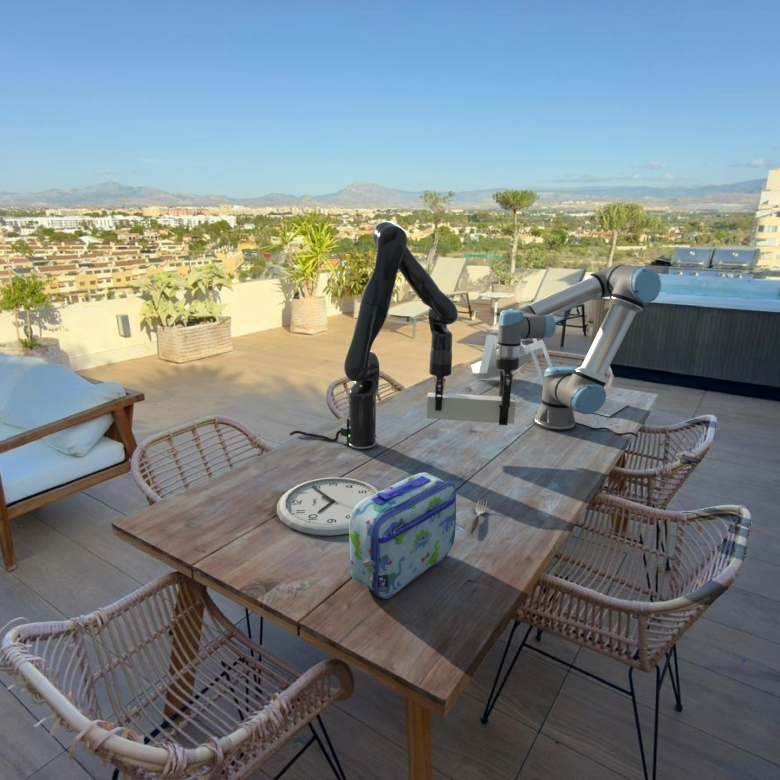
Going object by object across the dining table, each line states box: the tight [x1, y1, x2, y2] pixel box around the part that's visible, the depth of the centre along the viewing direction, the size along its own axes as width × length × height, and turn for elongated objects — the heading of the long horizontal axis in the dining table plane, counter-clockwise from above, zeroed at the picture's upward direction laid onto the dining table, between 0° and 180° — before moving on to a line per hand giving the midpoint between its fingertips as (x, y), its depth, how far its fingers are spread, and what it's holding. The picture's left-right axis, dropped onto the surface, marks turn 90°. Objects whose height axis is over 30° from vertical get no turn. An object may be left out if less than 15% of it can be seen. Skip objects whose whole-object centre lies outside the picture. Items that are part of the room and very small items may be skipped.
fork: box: [470, 498, 488, 535], centre depth 136 cm, size 3×16×2 cm, turn 160°
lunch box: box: [348, 471, 457, 600], centre depth 113 cm, size 26×11×21 cm, turn 134°
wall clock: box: [276, 476, 381, 537], centre depth 142 cm, size 30×2×30 cm
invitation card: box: [592, 399, 629, 418], centre depth 226 cm, size 21×1×15 cm
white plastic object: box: [470, 334, 554, 388], centre depth 255 cm, size 37×45×31 cm
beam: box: [426, 391, 517, 425], centre depth 182 cm, size 30×5×8 cm, turn 83°
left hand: (438, 407), depth 183 cm, fingers closed on beam, 5 cm apart
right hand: (502, 421), depth 182 cm, fingers closed on beam, 5 cm apart
